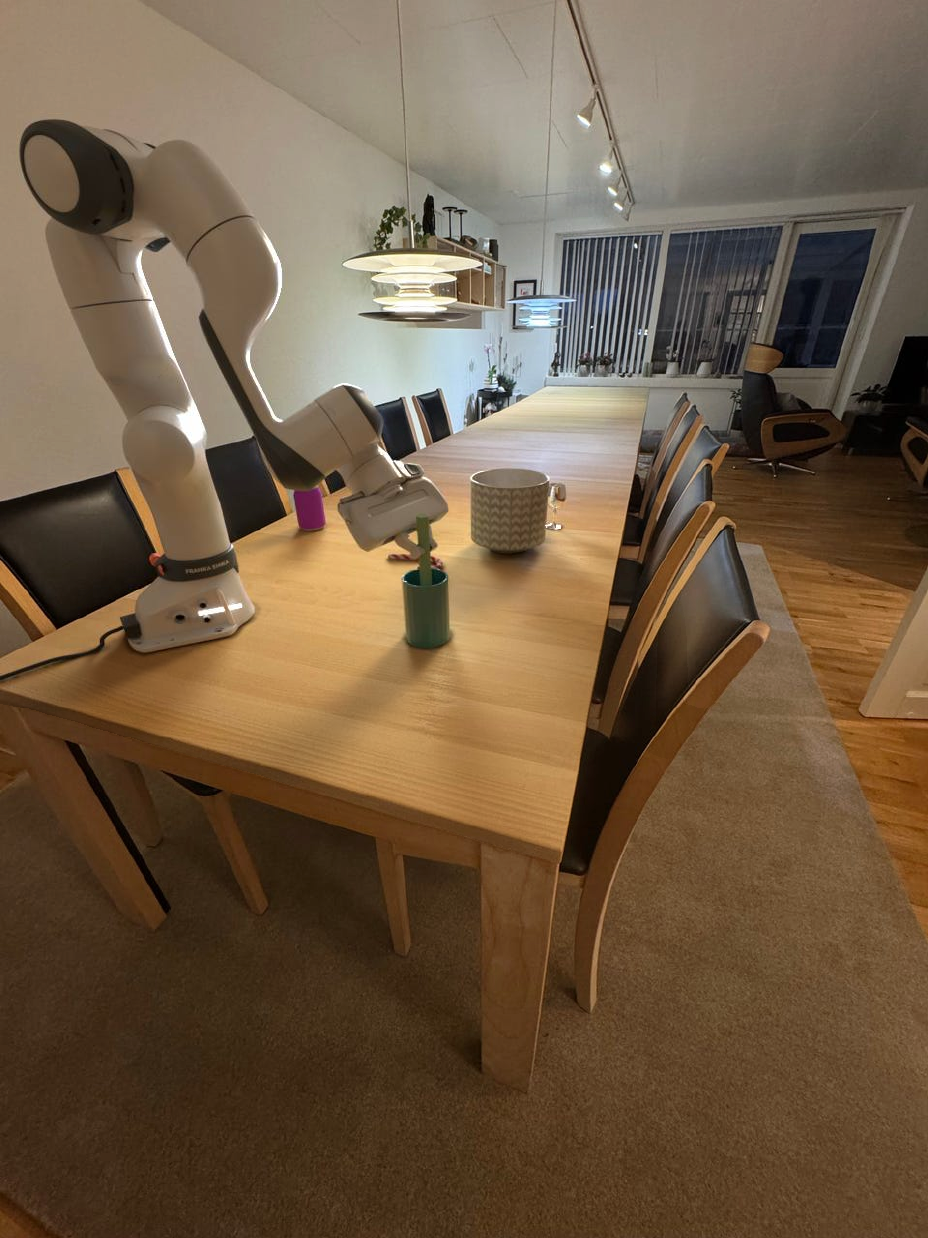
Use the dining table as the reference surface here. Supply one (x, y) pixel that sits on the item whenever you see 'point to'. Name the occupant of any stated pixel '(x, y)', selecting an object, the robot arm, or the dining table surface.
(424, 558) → the straw
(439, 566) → the candy cane
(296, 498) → the beverage can
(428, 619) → the tin can
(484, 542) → the planter
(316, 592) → the dining table surface
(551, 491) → the wineglass
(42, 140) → the robot arm
